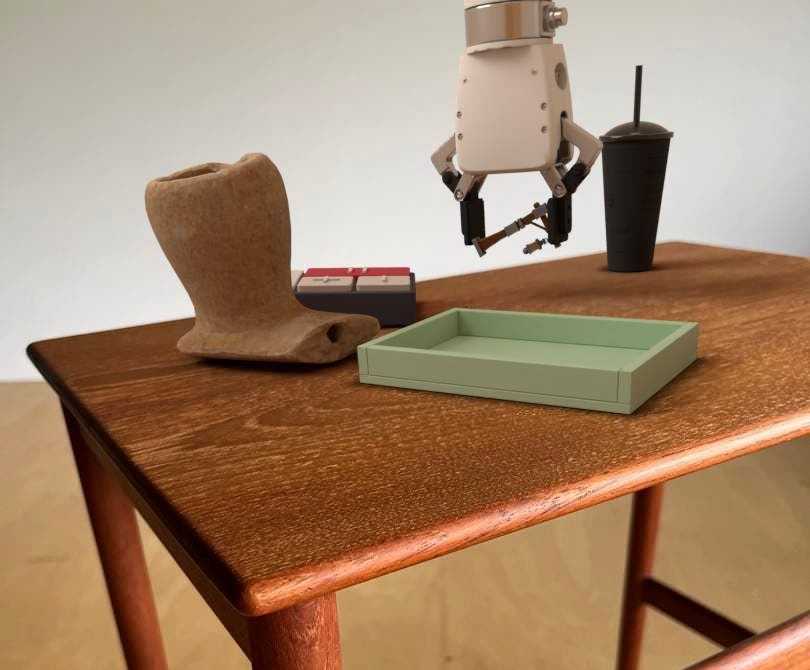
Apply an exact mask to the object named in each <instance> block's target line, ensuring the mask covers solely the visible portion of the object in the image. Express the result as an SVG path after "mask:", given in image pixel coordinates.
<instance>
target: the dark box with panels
mask: <svg viewBox="0 0 810 670" xmlns="http://www.w3.org/2000/svg"><path fill="white" fill-rule="evenodd" d="M291 279H292V288H293V293H294V295H295V298H296V299H297V300H298V302H299V303H300V304H302V305H303V306H304V307H306V308H309V309H311V310H315V311H323V312H334V313H344V314H360V315H368V316H372V317H375V318H376V319H378V322H379V325H380V327H381V326H382V327H383V326H387V327H388V326H389V327H390V326H392V327H393V326H410V325H412V324H415V323H417V290H416V289H417V286H416V273H415V272H412V271H411V268H410V267H409V266H382V267H381V266H380V267H375V266H373V267H371V266H370V267H369V266H363V267H353V266H349V267H309V268H307V270H306V271H305V272H304V270H302V269H294V270H293V269H291Z"/></svg>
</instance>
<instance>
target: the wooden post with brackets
mask: <svg viewBox="0 0 810 670" xmlns="http://www.w3.org/2000/svg"><path fill="white" fill-rule="evenodd" d="M532 207H533V208H534V209H532V210H531V212H529V213H528V214H526V215H525V216H523V217H519V218H517V219H516V220H514V221H513V222H512V223H510V224H508V225H506V226H504V227H503V229H502V230H500V231H498V232H495V233H493V234H489V235H488V236H486V237H485V238H483V239H480V238H479V237H478V238H475V239H473V240H472V242H473V244H474V245H473V247H474V249H475V250H476V253H477V255H478V256H479V258H480V259H481V258H482V257H484V256H486V254H487V253H488V252H487V250H488V249H490V248H491V247H493V246H494V245H496V244H497V243H499V242H500V241H502V240H504V239H505V238H510V237H511V236H512V235H514V234H516V233H518V232H520V231H522V230H523V229H525V228H526V226H529V225H533V226H535V227H537V228H538V229H541V230H543V231H544V232H545V233H546V234H548V223H547V202H543V203H542V204H540V202H538V201H536V202H534V203H533V206H532ZM539 219H540V221H541V222H542V224H543V225H541V224H538V223H536V222H534V221H535V220H536V221H538V220H539ZM546 244H548V237H544V238H542V239H541V240H540V239H539V238H535V240H534V241H533V242H530V243H527V244H526V245H525V247H524V248H522V254H524V255H528V254H529V255H532V254H533V253H534V252H536V251H537V250H539V251H541V250H542V249H543V246H545V245H546ZM553 246H554V248H555V249H558V248H560V247H562V243H559V244H557V245H553Z"/></svg>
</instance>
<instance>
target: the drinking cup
mask: <svg viewBox="0 0 810 670" xmlns="http://www.w3.org/2000/svg"><path fill="white" fill-rule="evenodd" d="M643 66H644V65H643V64H640V65H635V72H634V75H635V76H634V77H635V78H634V95H633V97H634V98H633V116H632V117H633V118H632V121H628V122H624V123H622V124H618V125H616V126H614V127H612V128H611V129H609V130H608V131H606V132H605V133H604V134H602V135H599V136H598V139H599V140H600V141H601V142H602V143H603V149H602V151H601V165H602V166H601V167H602V168H601V170H602V185H603V186H602V187H603V204H604V205H603V206H604V224H605V225H604V226H605V227H604V228H605V244H606V262H607V263H606V264H607V265H606V266H607V270H608V271H612V272H619V273H633V272H636V273H637V272H643V271H648V270H651V269H653V263H654V257H655V250H656V242H657V236H658V229H659V223H660V214H661V210H662V209H661V208H662V201H663V195H664V187H665V180H666V174H667V166H668V161H669V160H668V159H669V152H670V146H671V139H672V138H674V136H675V133H674V132H675V131H672V130H668V129H667V128H666V127H664V126H663V125H661V124H658V123H656V122H650V121H644V120H641V109H642V108H641V106H642V104H641V103H642V86H643V69H644V68H643Z"/></svg>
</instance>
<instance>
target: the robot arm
mask: <svg viewBox="0 0 810 670" xmlns="http://www.w3.org/2000/svg"><path fill="white" fill-rule="evenodd" d="M463 10H464V13H463V15H464V28H465V29H464V31H465V33H464V34H465V47H466V48H465V51H466V53H465V54H461V55H460V58H459V63H458V72H457V80H456V91H455V92H456V93H455V111H454V112H455V113H454V115H455V117H454V120H455V121H454V129H455V130H454V132H453V133H452V134H451V135H450V136H449V137H448V138H447V139H446V140H445V141H444V142H443V143H442V144H441V145H440V146H438V148H437V149H436V150H435V151H434V152H433V153H432V154H431V156H430V161H431V163H432V165H433V167H434V168H435V169H436V171H437V173H438V175H439V176H440V177H441V182H442V183H443V185H445V186H446V187H447V189H448V190H449V191H450V192H451V193H452V194H453V198H454V200H455V201H456V202H457V203H459V213H460V230H461V232H460V233H461V234H462V236H463V243H464V246H466V247H472V246H474V244H473V242H472V240H473V239H475V238H478V237H479V238H480V239H483V238H485V237H487V235H486V213H485V211H486V210H485V201H484V198H483V197H480V196H479V194H480V192H481V191H482V188H483V186H484V183H485V182H486V179H488V176H489V175H501V174H503V175H504V174H505V175H506V174H520V173H534V172H539V173H540V175H541V176H542V178H543V180H544V182H545V183H546V184H547V186H548V188H549V189H550V191H551V197H549V198H548V199H547V201H546V203H547V214H546V216H547V223H548V233H547V239H548V242H547V244H549V245H551V246H554V245H557V244H559V243H561V244H562V243H565V242H567V241H568V240H569V234H570V233H571V232H572V230H573V195H574V194H576V193H577V191H578V189H579V187H580V185H581V184H583V182H584V180H585V179H586V178H587V177H588V176H589V175H590V173H591V171H592V167H593V166H594V165H595V163H596V161H597V159H598V158H599V156H600V154H601V153H602V149H603V143H602V142H601V141H600V140H599V138H597V137H596V136H595V135H593V134H592V133H590V132H588V131H587V130H585V128H583V127H582V126H580V125H578V124H577V123H576V122H574V113H573V101H572V92H571V84H570V77H569V68H568V64H567V63H568V62H567V58H566V53H565V48H564V44H563V43H554V38H556V29H559V28H560V27H564V26H566V25H567V24H568V19H569V15H568V14H569V13H568V9H567V8H566V7H565V6H563V7H558V6H556V3H555V1H553V0H463ZM575 147H576V148H577V149H578V152H579V154H578V156H577V159H576V161H575V163H574V164H573V165H572V166H571V167H570V168H569V169H568V167H567V166H566V165H567V164H569V163H571V161H572V160H573V158H574V153H575ZM455 156H456V162H457V165H458V168H459V170H460V171H459V170H458V169H456V167H455V164H454V162H453V159H454V157H455ZM461 172H462V173H461Z"/></svg>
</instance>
